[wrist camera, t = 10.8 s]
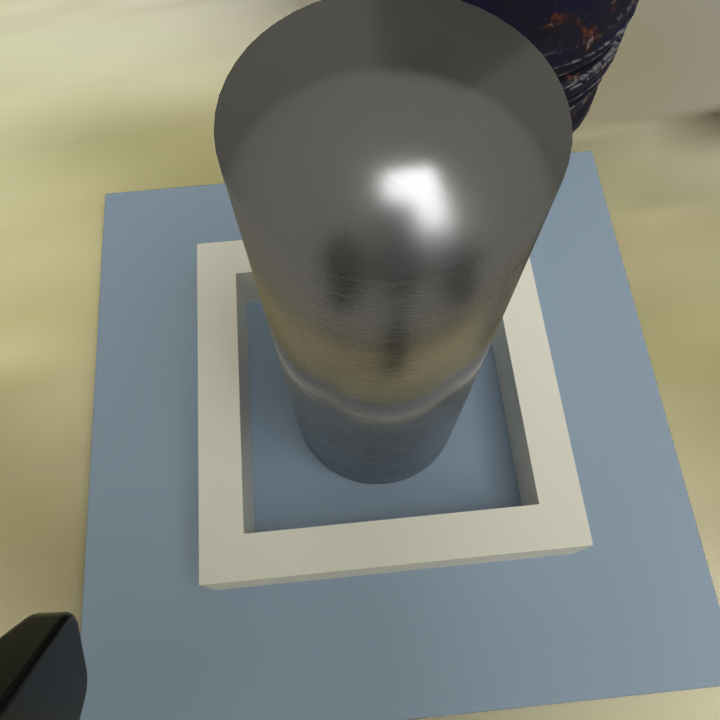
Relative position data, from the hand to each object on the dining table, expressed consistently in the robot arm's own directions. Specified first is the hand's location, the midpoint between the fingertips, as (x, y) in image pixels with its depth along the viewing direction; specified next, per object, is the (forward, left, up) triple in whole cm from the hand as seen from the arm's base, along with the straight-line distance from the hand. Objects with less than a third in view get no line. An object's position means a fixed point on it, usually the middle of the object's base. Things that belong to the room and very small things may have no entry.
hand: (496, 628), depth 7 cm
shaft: (+5, +5, -13) cm, 14 cm away
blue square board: (+5, +5, -13) cm, 15 cm away
